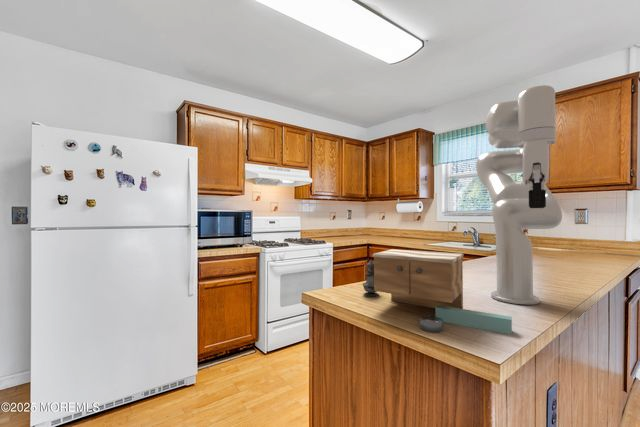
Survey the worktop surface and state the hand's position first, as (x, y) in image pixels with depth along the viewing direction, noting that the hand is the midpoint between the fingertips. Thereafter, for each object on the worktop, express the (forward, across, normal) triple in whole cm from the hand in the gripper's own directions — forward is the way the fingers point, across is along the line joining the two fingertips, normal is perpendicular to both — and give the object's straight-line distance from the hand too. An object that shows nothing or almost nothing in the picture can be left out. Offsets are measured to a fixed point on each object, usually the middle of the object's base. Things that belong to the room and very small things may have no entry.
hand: (537, 207), depth 72 cm
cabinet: (+28, +9, -27) cm, 40 cm away
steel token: (+28, +20, -20) cm, 40 cm away
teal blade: (+28, +12, -13) cm, 33 cm away
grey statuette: (+28, +2, -45) cm, 53 cm away
